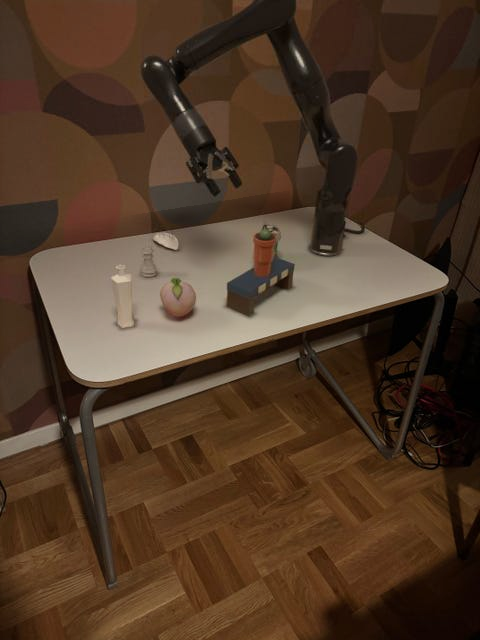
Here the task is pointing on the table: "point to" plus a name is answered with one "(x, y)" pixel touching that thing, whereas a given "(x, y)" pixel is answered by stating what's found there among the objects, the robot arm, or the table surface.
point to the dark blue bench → (257, 285)
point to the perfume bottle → (123, 296)
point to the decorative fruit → (177, 297)
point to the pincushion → (167, 240)
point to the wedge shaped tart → (275, 231)
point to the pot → (263, 252)
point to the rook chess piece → (148, 263)
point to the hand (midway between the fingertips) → (228, 190)
